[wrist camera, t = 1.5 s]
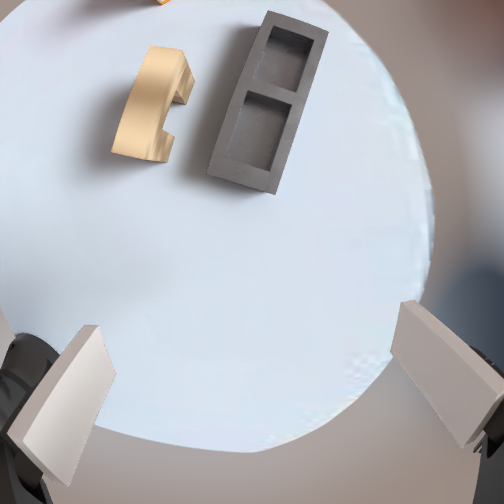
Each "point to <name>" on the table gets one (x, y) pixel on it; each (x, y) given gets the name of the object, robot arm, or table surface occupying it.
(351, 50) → the table surface
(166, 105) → the clip
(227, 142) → the grey rectangular block
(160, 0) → the supplement box
